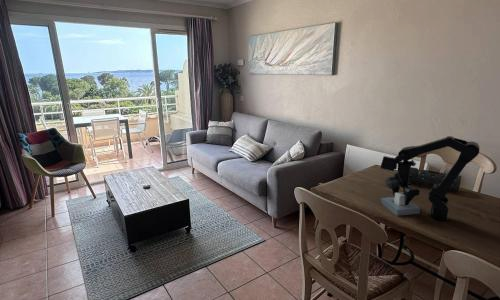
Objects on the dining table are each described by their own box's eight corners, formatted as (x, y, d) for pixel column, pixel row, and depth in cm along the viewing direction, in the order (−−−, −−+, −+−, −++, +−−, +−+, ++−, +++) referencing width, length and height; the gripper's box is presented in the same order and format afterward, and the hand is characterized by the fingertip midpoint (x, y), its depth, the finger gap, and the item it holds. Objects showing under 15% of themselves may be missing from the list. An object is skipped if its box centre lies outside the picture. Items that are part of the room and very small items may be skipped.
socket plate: (419, 213, 139) (420, 207, 138) (396, 215, 138) (397, 209, 137) (401, 201, 152) (402, 195, 151) (381, 203, 151) (381, 197, 150)
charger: (405, 209, 143) (407, 194, 141) (398, 210, 143) (399, 195, 141) (400, 206, 147) (402, 191, 145) (393, 206, 147) (395, 192, 145)
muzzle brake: (457, 195, 157) (460, 178, 154) (402, 184, 175) (404, 168, 172) (459, 189, 164) (462, 173, 161) (406, 179, 182) (407, 164, 179)
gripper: (378, 167, 148) (375, 194, 152) (400, 180, 130) (396, 210, 134) (398, 166, 149) (395, 193, 153) (422, 178, 131) (418, 209, 135)
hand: (400, 201), depth 144 cm, fingers open, 9 cm apart
